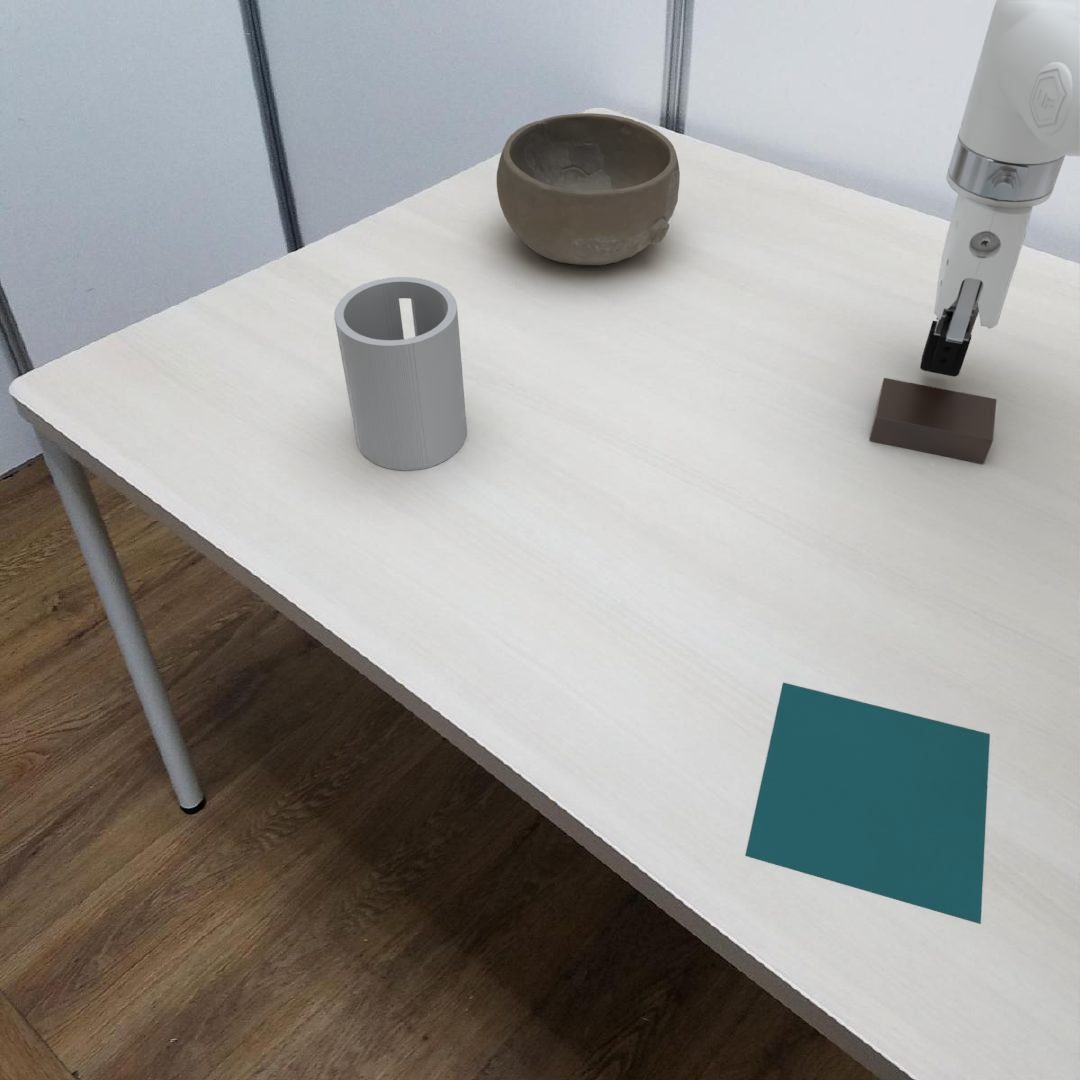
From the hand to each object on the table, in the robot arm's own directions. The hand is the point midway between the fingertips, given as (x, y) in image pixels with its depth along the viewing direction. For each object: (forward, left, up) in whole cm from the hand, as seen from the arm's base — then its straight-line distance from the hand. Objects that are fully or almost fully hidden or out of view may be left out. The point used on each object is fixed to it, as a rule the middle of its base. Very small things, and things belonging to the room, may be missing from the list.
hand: (939, 367), depth 91 cm
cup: (+23, +39, -2) cm, 45 cm away
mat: (-23, +36, -2) cm, 43 cm away
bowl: (+37, +8, -2) cm, 38 cm away
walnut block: (-4, +6, -2) cm, 7 cm away
